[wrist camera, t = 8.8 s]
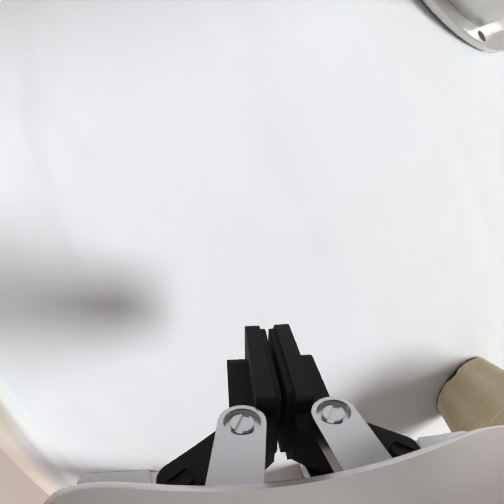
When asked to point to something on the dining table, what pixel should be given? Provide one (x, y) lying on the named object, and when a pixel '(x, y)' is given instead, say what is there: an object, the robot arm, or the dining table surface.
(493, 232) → the dining table surface
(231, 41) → the dining table surface
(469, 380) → the flower pot
